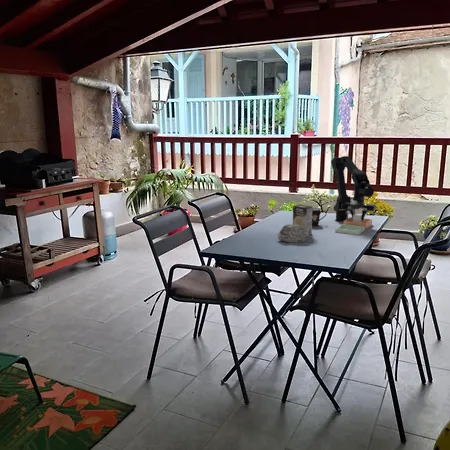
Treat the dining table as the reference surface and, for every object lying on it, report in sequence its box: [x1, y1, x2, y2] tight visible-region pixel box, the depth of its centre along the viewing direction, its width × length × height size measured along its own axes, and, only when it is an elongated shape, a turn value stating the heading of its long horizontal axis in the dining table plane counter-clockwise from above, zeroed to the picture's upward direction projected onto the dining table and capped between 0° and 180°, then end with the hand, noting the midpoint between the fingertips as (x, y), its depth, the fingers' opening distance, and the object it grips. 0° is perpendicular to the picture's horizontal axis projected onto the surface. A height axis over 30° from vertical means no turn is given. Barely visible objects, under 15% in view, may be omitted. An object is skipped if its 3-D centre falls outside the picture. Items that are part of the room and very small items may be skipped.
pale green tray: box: [334, 223, 366, 235], centre depth 258 cm, size 13×12×2 cm
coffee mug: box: [312, 207, 327, 228], centre depth 274 cm, size 12×9×10 cm
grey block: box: [353, 213, 363, 223], centre depth 269 cm, size 4×4×4 cm
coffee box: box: [292, 204, 313, 238], centre depth 253 cm, size 9×6×16 cm
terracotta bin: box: [343, 216, 373, 230], centre depth 269 cm, size 13×12×4 cm
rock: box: [277, 223, 308, 244], centre depth 241 cm, size 16×8×10 cm, turn 61°
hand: (357, 220), depth 269 cm, fingers closed on grey block, 4 cm apart
